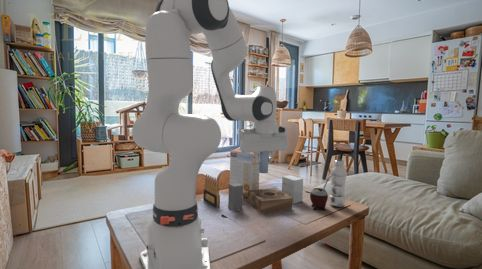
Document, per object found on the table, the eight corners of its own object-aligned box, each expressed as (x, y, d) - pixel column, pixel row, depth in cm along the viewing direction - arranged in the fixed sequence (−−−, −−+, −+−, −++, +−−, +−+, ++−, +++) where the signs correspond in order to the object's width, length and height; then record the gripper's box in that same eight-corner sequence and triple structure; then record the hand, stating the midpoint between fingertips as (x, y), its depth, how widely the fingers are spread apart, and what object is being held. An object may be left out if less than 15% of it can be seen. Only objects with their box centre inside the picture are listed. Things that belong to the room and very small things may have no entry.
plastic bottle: (345, 209, 110) (348, 162, 108) (328, 207, 112) (330, 161, 110) (344, 204, 116) (347, 159, 114) (328, 202, 118) (331, 158, 116)
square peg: (242, 209, 107) (242, 185, 106) (233, 210, 105) (233, 186, 104) (237, 205, 111) (237, 182, 110) (228, 207, 109) (228, 183, 108)
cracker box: (259, 196, 124) (260, 152, 122) (251, 199, 120) (252, 153, 117) (237, 189, 133) (238, 148, 131) (228, 191, 129) (229, 149, 127)
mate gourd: (306, 207, 111) (308, 172, 109) (316, 203, 116) (318, 170, 115) (321, 213, 105) (324, 176, 104) (332, 208, 110) (334, 173, 109)
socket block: (292, 209, 108) (292, 197, 108) (261, 213, 103) (261, 201, 103) (275, 198, 121) (276, 187, 121) (247, 201, 116) (248, 190, 116)
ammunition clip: (219, 207, 109) (220, 178, 108) (216, 207, 108) (216, 179, 107) (206, 199, 117) (207, 173, 116) (203, 200, 116) (203, 173, 115)
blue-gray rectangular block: (269, 172, 106) (270, 148, 105) (261, 173, 105) (261, 148, 103) (265, 170, 109) (266, 146, 108) (257, 171, 108) (258, 147, 107)
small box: (302, 201, 118) (303, 178, 117) (293, 203, 115) (294, 180, 114) (289, 196, 125) (290, 174, 124) (281, 198, 121) (282, 176, 120)
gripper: (243, 129, 98) (242, 165, 100) (291, 128, 105) (289, 162, 107) (237, 128, 104) (237, 162, 106) (283, 126, 111) (282, 159, 113)
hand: (263, 162), depth 106 cm, fingers closed on blue-gray rectangular block, 4 cm apart
